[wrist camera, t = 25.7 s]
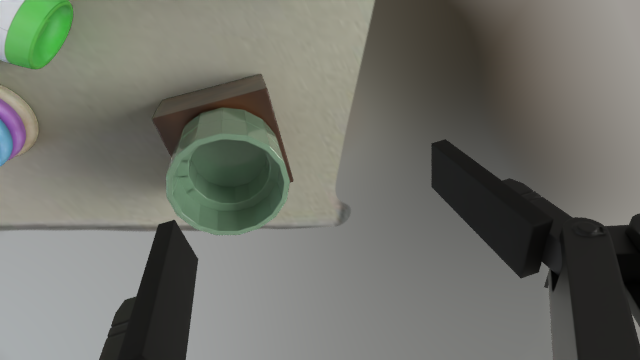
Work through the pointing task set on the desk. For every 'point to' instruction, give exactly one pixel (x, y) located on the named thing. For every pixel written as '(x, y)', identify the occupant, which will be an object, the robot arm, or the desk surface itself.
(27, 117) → the stacking toy
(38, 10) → the speaker
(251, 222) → the sage bowl
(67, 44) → the desk surface
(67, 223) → the desk surface
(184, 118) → the walnut stand
